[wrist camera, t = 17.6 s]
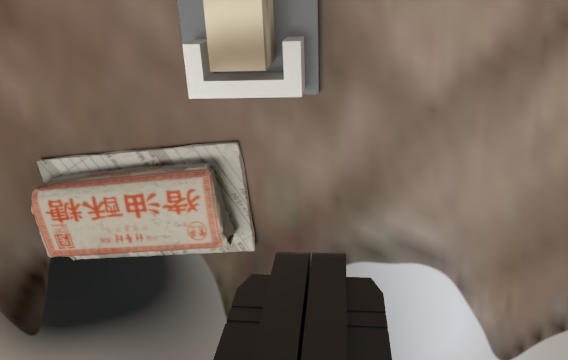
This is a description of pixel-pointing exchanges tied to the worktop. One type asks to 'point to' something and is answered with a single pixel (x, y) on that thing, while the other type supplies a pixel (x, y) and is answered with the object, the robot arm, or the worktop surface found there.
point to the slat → (239, 34)
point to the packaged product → (145, 202)
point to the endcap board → (256, 84)
